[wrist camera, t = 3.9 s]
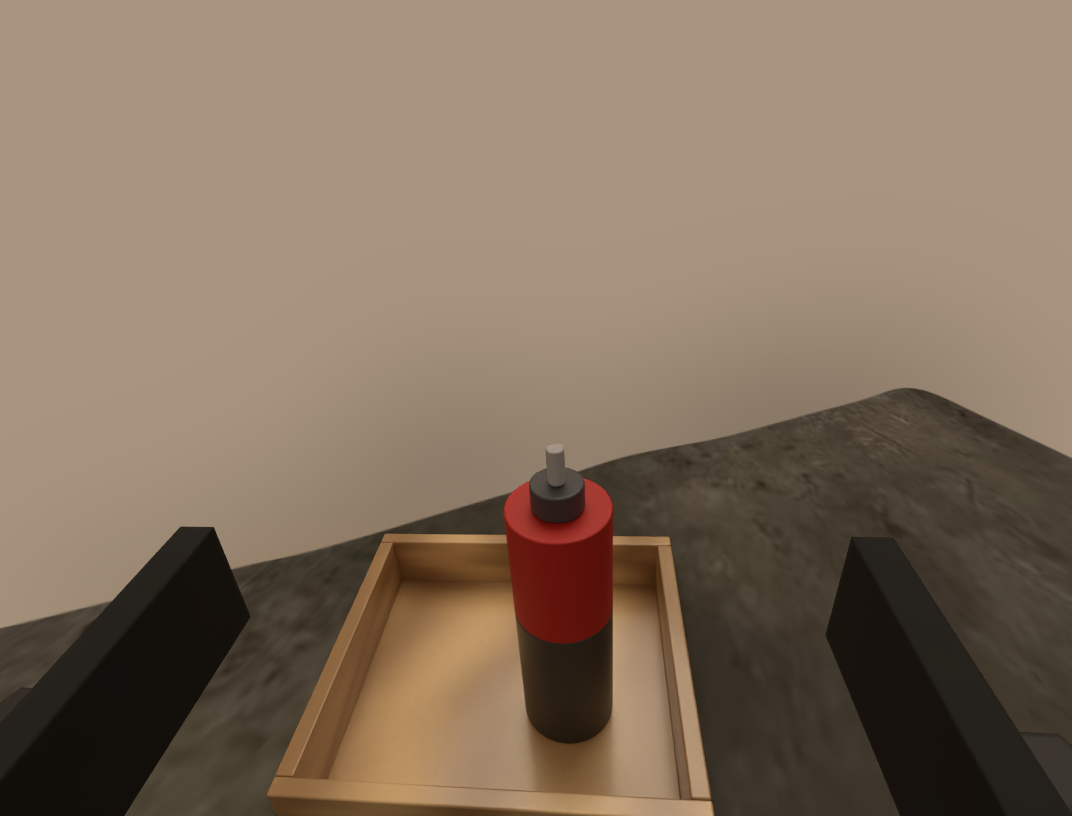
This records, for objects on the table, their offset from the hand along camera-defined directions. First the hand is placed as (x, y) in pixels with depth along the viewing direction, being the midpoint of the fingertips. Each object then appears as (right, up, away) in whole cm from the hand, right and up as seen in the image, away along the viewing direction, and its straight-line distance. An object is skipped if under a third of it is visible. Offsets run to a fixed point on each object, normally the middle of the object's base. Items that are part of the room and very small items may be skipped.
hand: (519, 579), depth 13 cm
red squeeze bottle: (+2, -11, +17) cm, 21 cm away
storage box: (-1, -11, +19) cm, 22 cm away
